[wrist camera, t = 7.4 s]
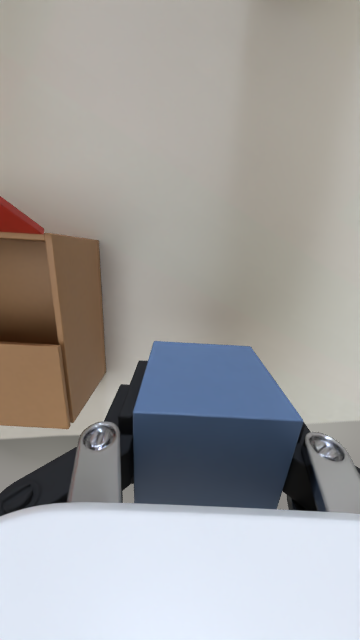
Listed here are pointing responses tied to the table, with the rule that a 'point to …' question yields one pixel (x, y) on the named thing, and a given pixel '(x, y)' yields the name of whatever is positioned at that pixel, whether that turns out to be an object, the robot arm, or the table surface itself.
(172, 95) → the table surface
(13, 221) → the flap
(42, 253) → the carton
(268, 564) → the robot arm
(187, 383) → the block
